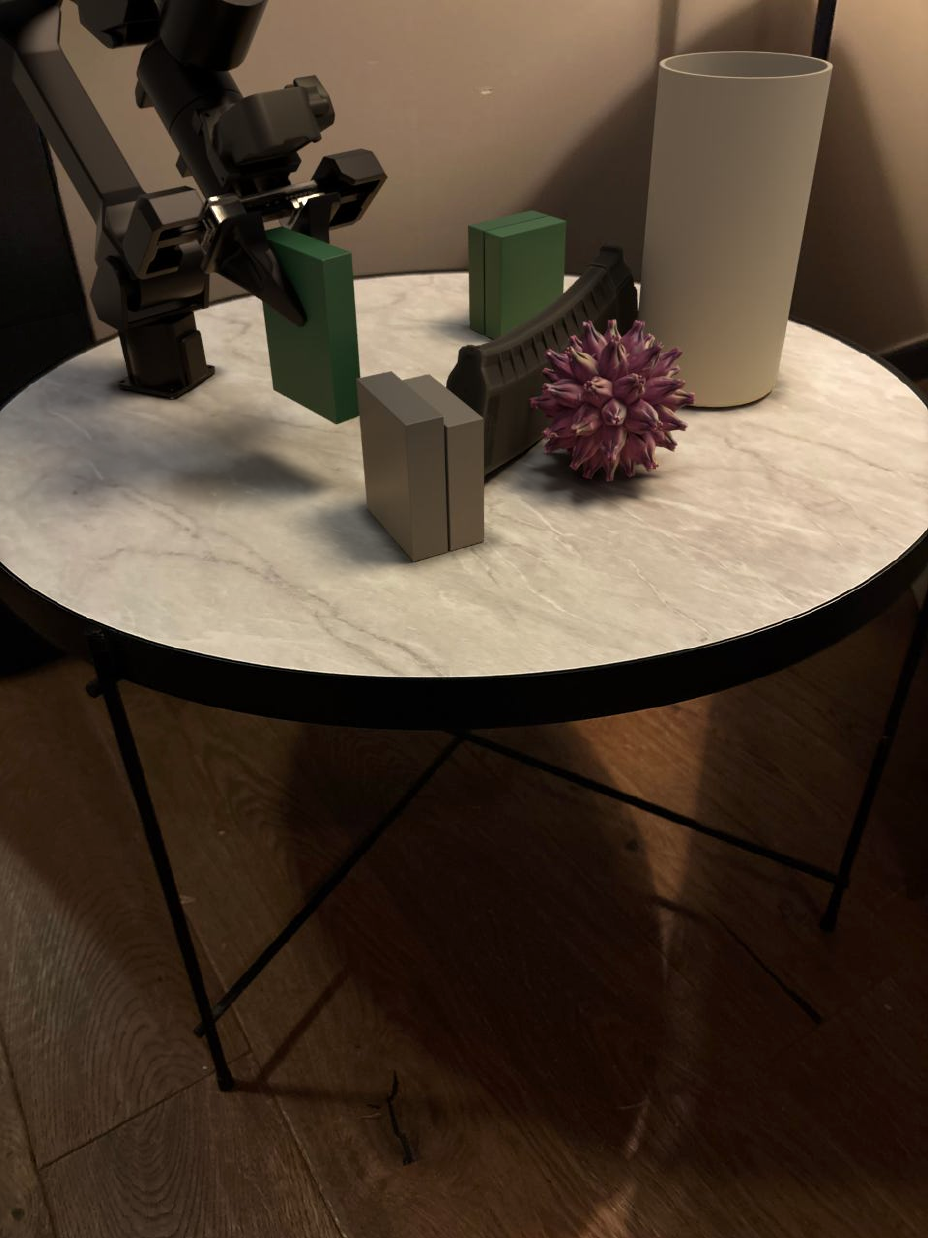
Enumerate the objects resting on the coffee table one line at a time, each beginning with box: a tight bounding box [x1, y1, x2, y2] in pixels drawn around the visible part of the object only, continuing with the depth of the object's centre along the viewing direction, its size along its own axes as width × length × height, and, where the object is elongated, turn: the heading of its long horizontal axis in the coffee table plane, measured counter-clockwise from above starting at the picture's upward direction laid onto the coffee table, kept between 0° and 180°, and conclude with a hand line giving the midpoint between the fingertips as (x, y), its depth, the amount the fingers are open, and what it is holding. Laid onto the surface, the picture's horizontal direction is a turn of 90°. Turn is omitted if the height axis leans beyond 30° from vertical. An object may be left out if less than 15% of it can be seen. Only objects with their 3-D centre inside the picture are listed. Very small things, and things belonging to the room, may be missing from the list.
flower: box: [529, 319, 695, 482], centre depth 74 cm, size 12×12×12 cm
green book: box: [261, 225, 361, 425], centre depth 71 cm, size 8×2×12 cm, turn 42°
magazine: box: [445, 242, 639, 477], centre depth 81 cm, size 17×3×30 cm
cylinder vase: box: [637, 50, 834, 408], centre depth 83 cm, size 12×12×25 cm
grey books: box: [356, 370, 485, 563], centre depth 69 cm, size 8×5×10 cm
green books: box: [467, 209, 567, 340], centre depth 99 cm, size 8×5×10 cm, turn 127°
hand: (319, 318), depth 70 cm, fingers closed on green book, 2 cm apart
